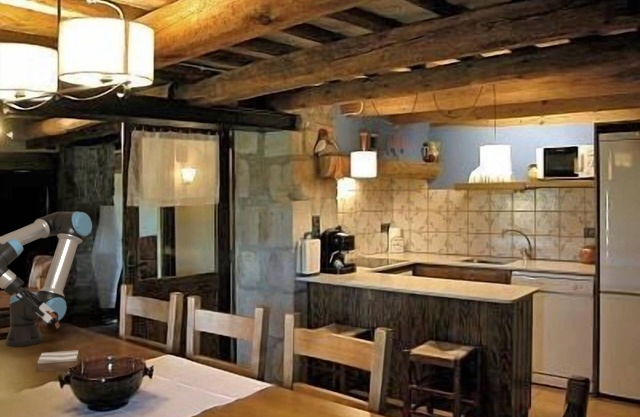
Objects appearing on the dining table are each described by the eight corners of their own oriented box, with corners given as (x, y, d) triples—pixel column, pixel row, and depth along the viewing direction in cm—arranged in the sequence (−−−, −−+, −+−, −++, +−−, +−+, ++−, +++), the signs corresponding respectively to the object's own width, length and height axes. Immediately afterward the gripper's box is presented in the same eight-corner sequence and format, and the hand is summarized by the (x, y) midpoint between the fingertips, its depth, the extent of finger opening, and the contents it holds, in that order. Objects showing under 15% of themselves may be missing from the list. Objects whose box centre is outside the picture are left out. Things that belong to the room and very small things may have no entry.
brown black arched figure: (56, 331, 254) (44, 315, 252) (38, 340, 256) (26, 324, 254) (68, 318, 266) (58, 302, 264) (51, 327, 267) (40, 311, 265)
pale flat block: (42, 362, 251) (42, 352, 251) (78, 359, 255) (78, 350, 255) (37, 372, 237) (37, 361, 237) (76, 368, 242) (76, 358, 242)
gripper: (8, 285, 265) (48, 318, 270) (-3, 294, 243) (41, 330, 248) (21, 272, 266) (60, 305, 271) (12, 280, 244) (55, 316, 249)
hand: (51, 317), depth 260 cm, fingers closed on brown black arched figure, 11 cm apart
